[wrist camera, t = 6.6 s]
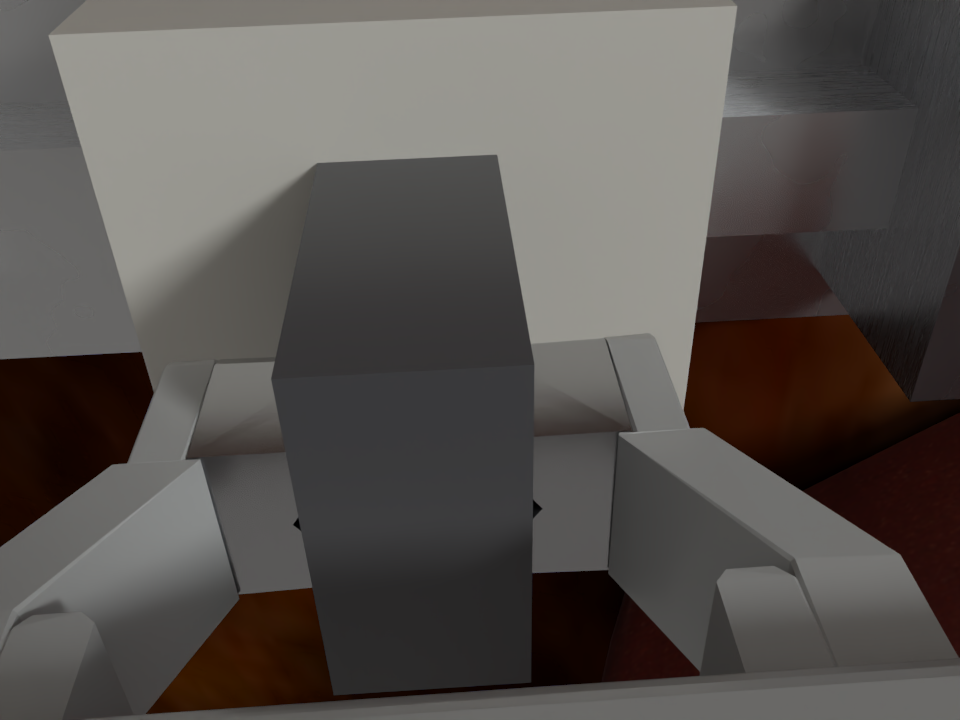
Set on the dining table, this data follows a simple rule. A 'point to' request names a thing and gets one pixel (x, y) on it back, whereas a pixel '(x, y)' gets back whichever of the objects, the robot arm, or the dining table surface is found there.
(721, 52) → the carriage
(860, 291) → the rail
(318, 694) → the dining table surface
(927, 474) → the plant pot
